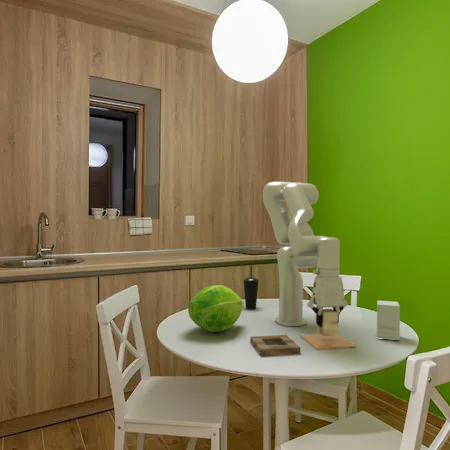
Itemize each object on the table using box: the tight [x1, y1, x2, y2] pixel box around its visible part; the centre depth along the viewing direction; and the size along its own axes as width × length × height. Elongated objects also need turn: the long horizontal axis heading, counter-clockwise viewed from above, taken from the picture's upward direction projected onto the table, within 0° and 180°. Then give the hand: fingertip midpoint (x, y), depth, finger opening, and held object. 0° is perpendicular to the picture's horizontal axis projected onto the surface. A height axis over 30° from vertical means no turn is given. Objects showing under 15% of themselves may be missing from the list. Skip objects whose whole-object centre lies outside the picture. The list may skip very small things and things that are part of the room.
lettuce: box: [187, 284, 246, 333], centre depth 146 cm, size 19×25×17 cm
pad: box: [299, 333, 357, 351], centre depth 134 cm, size 14×14×1 cm
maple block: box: [317, 308, 339, 336], centre depth 134 cm, size 5×5×8 cm
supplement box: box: [376, 300, 401, 341], centre depth 139 cm, size 7×7×13 cm
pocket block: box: [249, 334, 301, 357], centre depth 127 cm, size 13×13×2 cm
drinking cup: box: [242, 265, 260, 310], centre depth 181 cm, size 8×8×20 cm
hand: (327, 324), depth 134 cm, fingers closed on maple block, 5 cm apart
